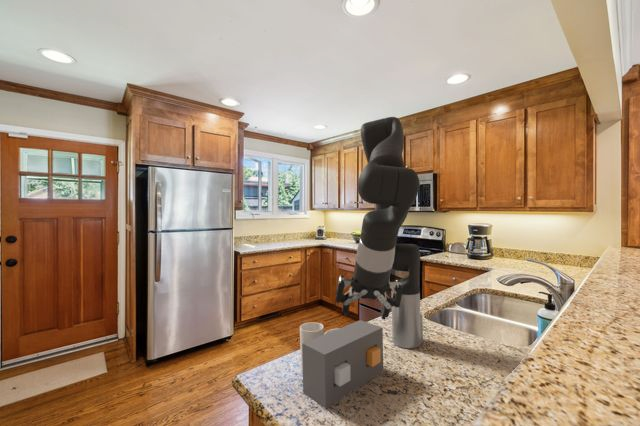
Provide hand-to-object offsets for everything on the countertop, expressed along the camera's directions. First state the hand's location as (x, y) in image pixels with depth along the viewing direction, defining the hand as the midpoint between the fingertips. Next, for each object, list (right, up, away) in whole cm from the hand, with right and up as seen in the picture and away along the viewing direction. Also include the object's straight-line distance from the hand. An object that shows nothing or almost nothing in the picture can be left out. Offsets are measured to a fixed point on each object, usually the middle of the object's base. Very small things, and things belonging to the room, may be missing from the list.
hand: (364, 315), depth 66 cm
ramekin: (-3, -21, +24) cm, 32 cm away
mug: (-13, -20, +15) cm, 28 cm away
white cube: (-6, -16, +1) cm, 17 cm away
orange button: (+3, -16, +9) cm, 18 cm away
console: (-4, -20, +7) cm, 22 cm away
